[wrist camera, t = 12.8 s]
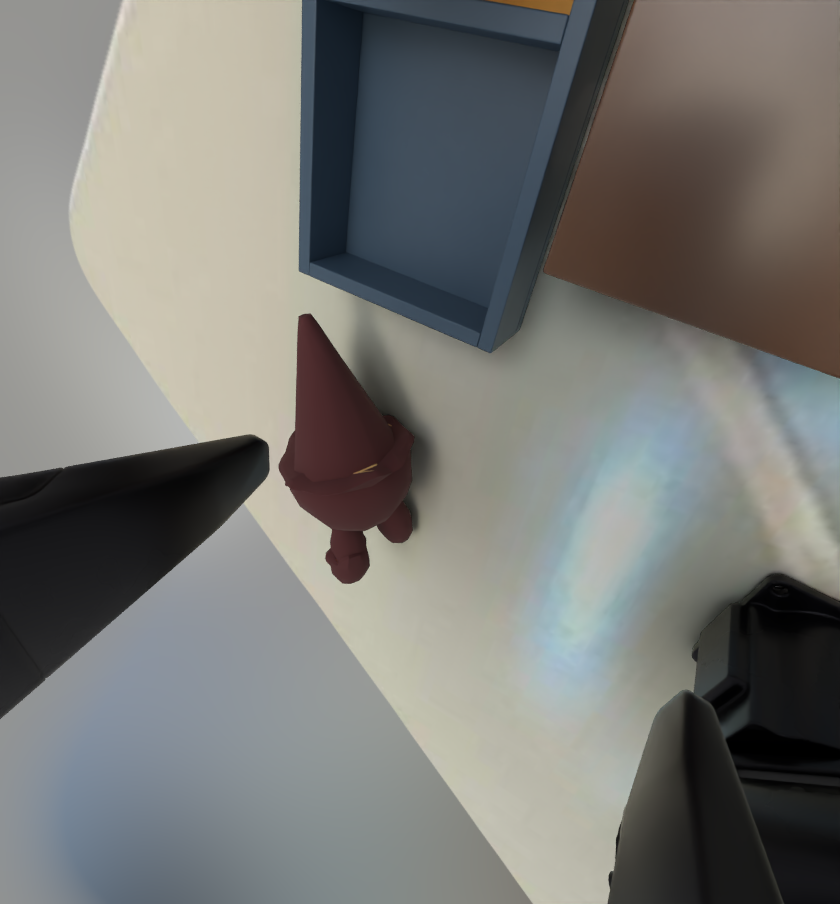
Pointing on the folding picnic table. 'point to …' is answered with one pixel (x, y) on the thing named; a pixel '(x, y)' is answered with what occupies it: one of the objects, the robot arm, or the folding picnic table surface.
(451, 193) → the blue divided tray
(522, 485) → the folding picnic table surface
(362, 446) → the maroon cone-shaped figurine
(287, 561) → the folding picnic table surface
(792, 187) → the brown low table
